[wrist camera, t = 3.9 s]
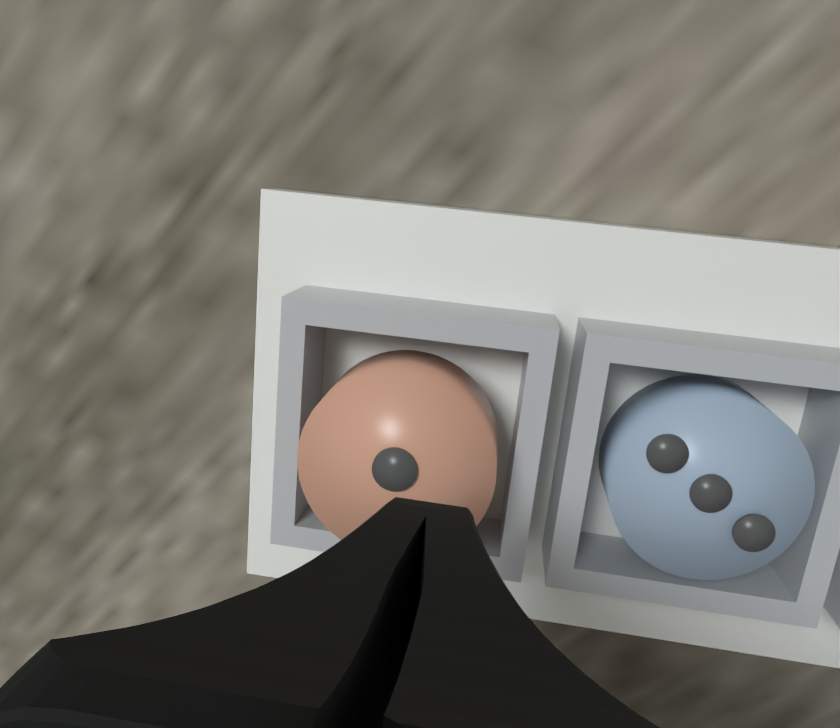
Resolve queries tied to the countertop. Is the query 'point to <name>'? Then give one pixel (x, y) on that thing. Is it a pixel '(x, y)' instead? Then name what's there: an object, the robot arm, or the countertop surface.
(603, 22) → the countertop surface
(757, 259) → the button panel
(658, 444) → the slate three pip button
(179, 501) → the countertop surface
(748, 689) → the countertop surface
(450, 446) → the terracotta one pip button
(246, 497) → the countertop surface
